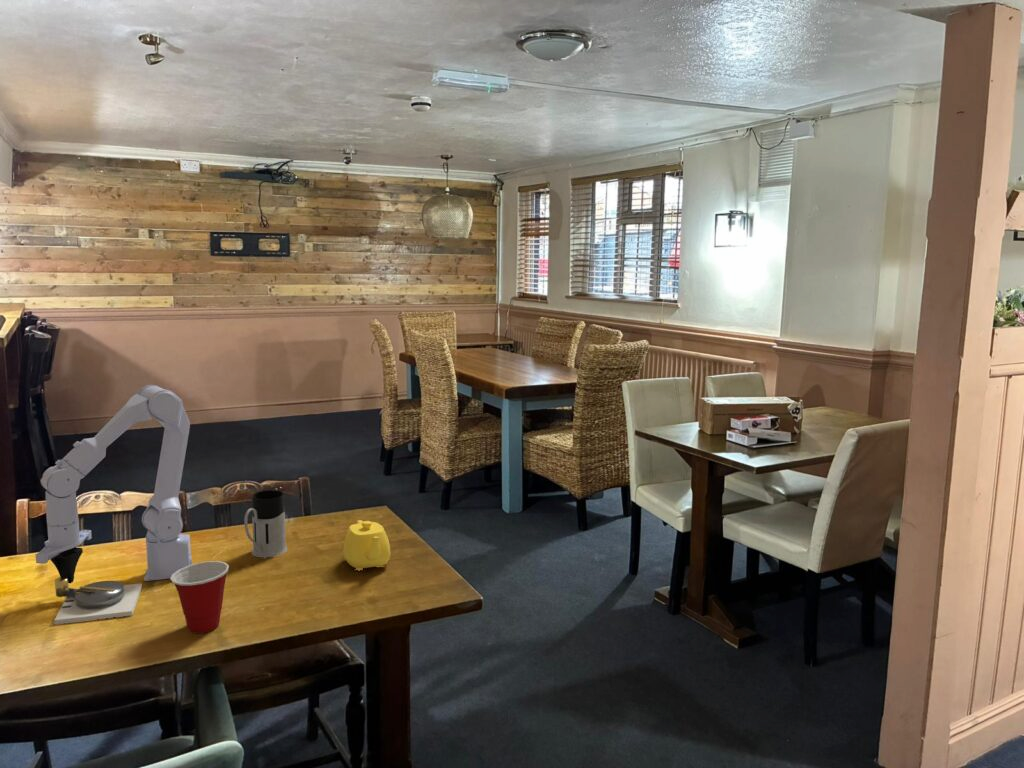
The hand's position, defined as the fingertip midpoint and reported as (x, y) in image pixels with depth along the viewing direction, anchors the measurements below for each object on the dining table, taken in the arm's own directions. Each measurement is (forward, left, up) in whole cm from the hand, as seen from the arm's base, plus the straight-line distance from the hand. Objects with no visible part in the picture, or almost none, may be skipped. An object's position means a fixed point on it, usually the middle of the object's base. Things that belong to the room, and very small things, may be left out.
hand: (67, 582), depth 160 cm
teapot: (-64, 0, -4) cm, 64 cm away
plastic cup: (-28, +22, -4) cm, 36 cm away
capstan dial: (-5, +5, -2) cm, 7 cm away
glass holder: (-40, -13, -4) cm, 42 cm away
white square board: (-7, +6, -3) cm, 10 cm away
